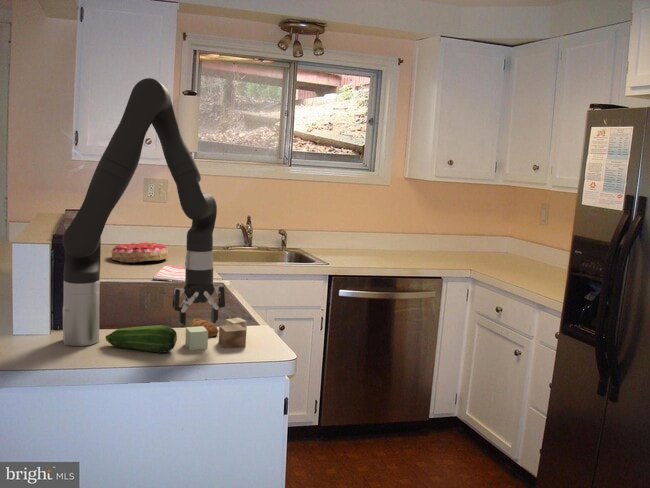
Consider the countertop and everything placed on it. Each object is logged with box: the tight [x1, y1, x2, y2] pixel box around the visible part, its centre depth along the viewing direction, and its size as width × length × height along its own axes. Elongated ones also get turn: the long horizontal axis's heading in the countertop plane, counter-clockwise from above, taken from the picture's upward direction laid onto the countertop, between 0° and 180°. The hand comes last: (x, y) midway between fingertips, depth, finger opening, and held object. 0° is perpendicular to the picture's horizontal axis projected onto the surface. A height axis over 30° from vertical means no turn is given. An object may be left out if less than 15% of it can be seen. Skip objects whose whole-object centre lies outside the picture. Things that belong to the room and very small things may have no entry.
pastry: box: [187, 318, 219, 338], centre depth 196 cm, size 9×7×4 cm
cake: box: [111, 241, 169, 264], centre depth 304 cm, size 25×25×8 cm
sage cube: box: [184, 326, 209, 351], centre depth 184 cm, size 5×5×5 cm
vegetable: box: [105, 324, 178, 353], centre depth 178 cm, size 7×7×20 cm
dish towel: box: [152, 264, 185, 283], centre depth 275 cm, size 17×23×4 cm
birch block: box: [225, 317, 248, 332], centre depth 197 cm, size 4×4×4 cm
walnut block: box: [218, 324, 247, 350], centre depth 187 cm, size 6×6×5 cm
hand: (198, 323), depth 184 cm, fingers open, 8 cm apart
